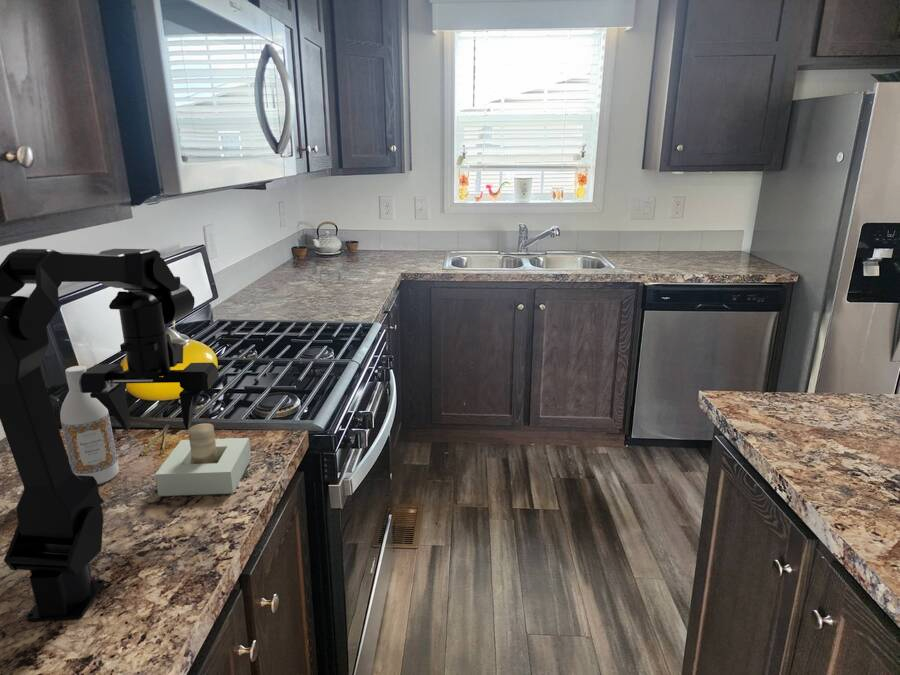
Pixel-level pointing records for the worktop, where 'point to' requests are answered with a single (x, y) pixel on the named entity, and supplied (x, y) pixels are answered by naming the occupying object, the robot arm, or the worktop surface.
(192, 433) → the peg
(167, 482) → the socket block
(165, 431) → the tongs
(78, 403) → the bath foam
